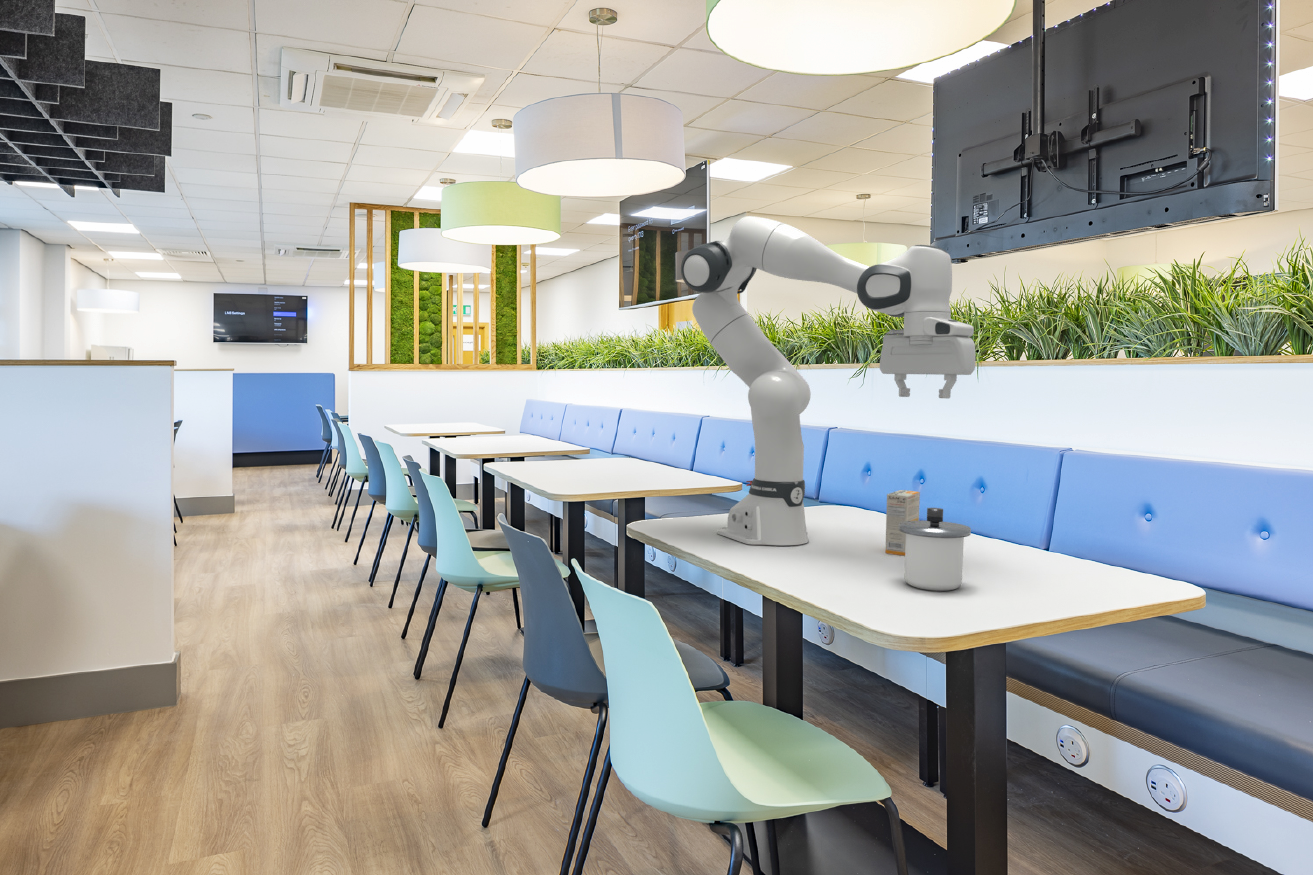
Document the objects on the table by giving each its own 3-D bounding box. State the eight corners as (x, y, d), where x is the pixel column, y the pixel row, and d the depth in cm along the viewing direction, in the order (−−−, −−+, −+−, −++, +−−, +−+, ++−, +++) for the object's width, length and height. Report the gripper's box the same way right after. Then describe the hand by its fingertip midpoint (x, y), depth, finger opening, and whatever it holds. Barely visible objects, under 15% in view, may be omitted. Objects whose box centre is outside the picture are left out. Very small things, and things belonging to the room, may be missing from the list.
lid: (886, 530, 153) (887, 508, 153) (919, 523, 162) (920, 501, 162) (950, 540, 144) (951, 516, 144) (982, 532, 153) (983, 509, 153)
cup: (965, 594, 148) (968, 538, 147) (906, 590, 150) (908, 535, 149) (957, 580, 157) (959, 528, 157) (902, 577, 159) (903, 525, 159)
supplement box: (897, 547, 188) (899, 489, 187) (918, 550, 185) (920, 491, 184) (883, 553, 181) (885, 493, 180) (905, 556, 178) (907, 495, 177)
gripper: (874, 329, 173) (871, 396, 174) (962, 325, 157) (959, 399, 158) (893, 330, 177) (891, 396, 178) (981, 327, 161) (978, 399, 162)
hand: (923, 397), depth 168 cm, fingers open, 8 cm apart
